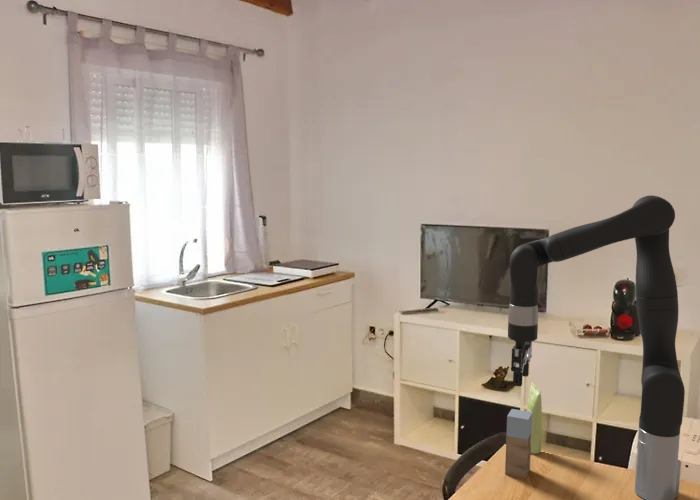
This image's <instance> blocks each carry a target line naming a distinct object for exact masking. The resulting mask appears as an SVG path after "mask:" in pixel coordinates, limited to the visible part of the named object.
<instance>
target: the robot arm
mask: <svg viewBox="0 0 700 500" xmlns="http://www.w3.org/2000/svg"><path fill="white" fill-rule="evenodd" d="M675 219H676V212H675V208H674V207H673V205H672V204H671V202H669V201H668V200H667V199H665V198H663V197H660V196H657V195H645V196H643V197H641V198H639V199H637V201H635V202H634V203H633V205H632V207H630V208H628V209H626V210H624V211H622V212H621V213H617V214H616V215H613V216H610V217H607V218H604V219H602V220H598V221H594V222H589V223H585V224H581V225H578V226H574V227H571V228H568V229H566V230H563V231H560V232H557V233H554V234H552V235H549V236H547V237H545V238H541V239H537V240H533V241H529V242H525V243H522V244H520V245H518V246H517V247H516V248H514V250H513V251H512V253H511V254H510V257H509V272H510V273H509V275H510V291H509V306H508V315H507V317H508V318H507V319H508V320H507V338H508V339H509V340H511V341H514V342H515V345H513V347H512V348H511V364H510V372H513V373H512V374H513V376H512V385H513V386H514V387H522V386H523V377H528V376H529V373H530V362H531V359H532V357H533V356H532V345H533V343H532V342H535V341H537V339H538V335H539V334H538V332H539V331H538V330H539V329H538V328H539V308H538V305H539V304H538V299H539V288H538V274H539V273H538V272H539V267H541V266H544V265H547V264H551V263H553V262H554V263H559V262H563V261H566V260H568V259H572V258H576V257H578V256H580V255H581V256H582V255H584V254H586V253H589V252H592V251H595V250H598V249H601V248H603V247H605V246H609V245H612V244H615V243H618V242H619V243H620V242H623V241H627V240H632V239H634V241H635V248H636V265H635V266H636V267H635V304H636V305H635V306H636V313H637V314H636V315H637V320H638V326H639V331H640V334H641V340H642V367H641V369H642V370H641V379H640V383H641V400H640V401H641V402H640V412H639V413H640V415H639V419H638V433H637V449H636V451H637V452H636V461H635V462H636V464H635V465H636V466H635V479H634V492H635V494H636V495H637V496H639V497H640V498H642V499H644V500H675V499H676V498H679V495H680V492H679V491H680V480H681V479H680V478H681V466H682V462H681V460H679V451H680V439H681V438H680V437H681V436H680V435H681V427H682V424H683V417H684V416H683V415H684V407H685V406H684V405H685V391H686V390H685V385H684V381H683V378H682V375H681V373H680V370H679V363H678V357H677V351H676V338H677V330H678V324H679V297H678V286H677V281H676V276H675V271H674V266H673V263H672V258H671V254H670V228H671V227H672V226H673V224H674V222H675ZM517 365H518V366H517Z"/></svg>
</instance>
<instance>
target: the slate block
mask: <svg viewBox="0 0 700 500" xmlns="http://www.w3.org/2000/svg"><path fill="white" fill-rule="evenodd" d="M531 432H532V412H527V410H526V411H525V410H522V409H515V408H511V409H510V411H509V412H508V414H507V416H506V435H505V437H506V436H511V437H516V438H521V439H526V440H528V438H529V436H530V434H531Z"/></svg>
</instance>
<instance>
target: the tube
mask: <svg viewBox="0 0 700 500" xmlns="http://www.w3.org/2000/svg"><path fill="white" fill-rule="evenodd" d="M529 388H530V389H529V395H528V401H527V407H526V411H527V412H532V432H531V454H535V455H537V454H540V453H541V452H542V443H543V442H542V439H543V437H542V436H543V432H542V431H543V411H542V409H543V408H542V394H541V392H542V391H540V389H539V388H538V387H537V386H536V385H535V384H534V383H533V382H532V381H531V382H530V387H529Z"/></svg>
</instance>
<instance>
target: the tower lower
mask: <svg viewBox="0 0 700 500" xmlns="http://www.w3.org/2000/svg"><path fill="white" fill-rule="evenodd" d="M531 454H532V453H531V451H530V453H529V455H528V458H527V459H522V458H517V457H512V456H507V455H506V454H505V461H504V462H505V463H504V471H505V472H504V475H505V476H508V477H509V476H511V477H515V478H519V479H524V480H526V479H527V478H528V475H529V472H530V471H531Z"/></svg>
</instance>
